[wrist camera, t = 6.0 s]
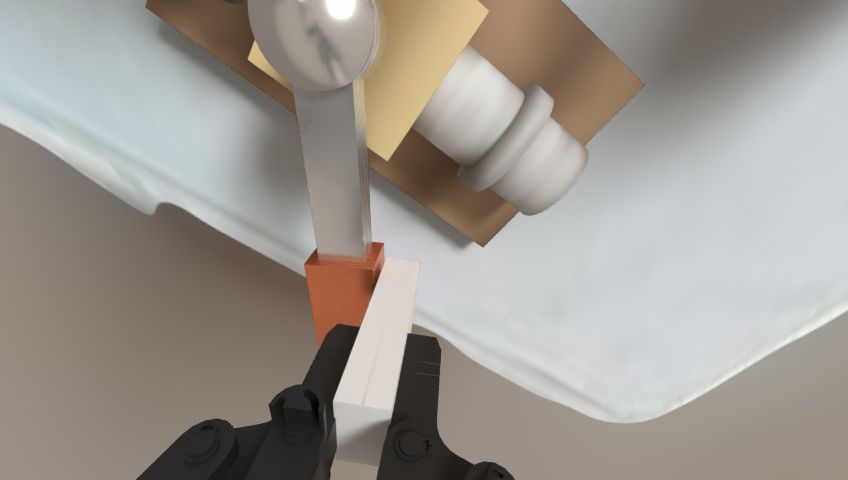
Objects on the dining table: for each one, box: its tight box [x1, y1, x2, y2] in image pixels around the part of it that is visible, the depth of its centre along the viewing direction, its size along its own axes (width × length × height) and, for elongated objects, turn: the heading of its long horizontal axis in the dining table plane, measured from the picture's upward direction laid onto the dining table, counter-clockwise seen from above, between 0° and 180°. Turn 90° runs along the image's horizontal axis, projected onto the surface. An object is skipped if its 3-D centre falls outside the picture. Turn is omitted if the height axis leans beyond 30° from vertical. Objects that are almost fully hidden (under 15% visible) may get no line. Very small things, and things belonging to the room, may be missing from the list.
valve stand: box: [146, 0, 645, 247], centre depth 15 cm, size 26×14×12 cm, turn 54°
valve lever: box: [248, 0, 387, 349], centre depth 12 cm, size 14×3×2 cm, turn 178°
